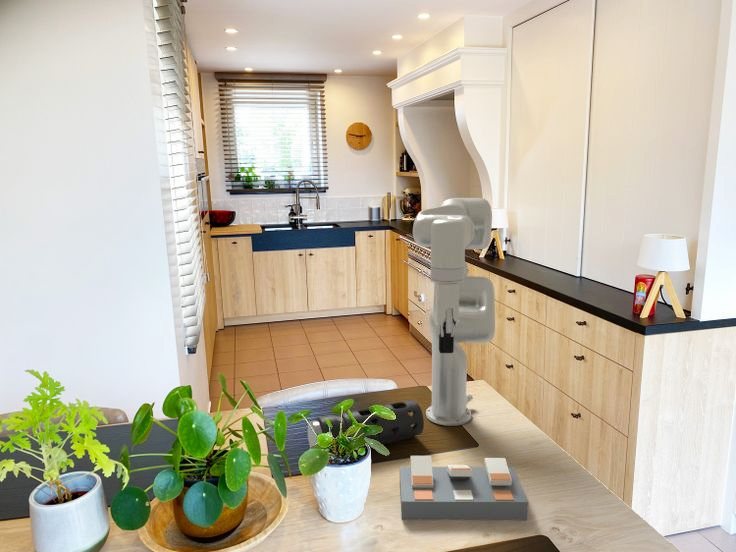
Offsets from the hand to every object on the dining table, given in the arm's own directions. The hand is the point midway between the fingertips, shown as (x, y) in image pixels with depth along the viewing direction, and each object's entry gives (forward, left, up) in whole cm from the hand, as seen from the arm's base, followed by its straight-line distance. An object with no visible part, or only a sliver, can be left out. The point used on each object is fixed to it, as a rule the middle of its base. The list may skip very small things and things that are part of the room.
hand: (446, 351), depth 130 cm
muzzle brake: (+8, -18, -28) cm, 34 cm away
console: (+12, +12, -27) cm, 32 cm away
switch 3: (+6, +17, -23) cm, 29 cm away
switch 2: (+11, +11, -23) cm, 28 cm away
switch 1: (+16, +5, -23) cm, 28 cm away
